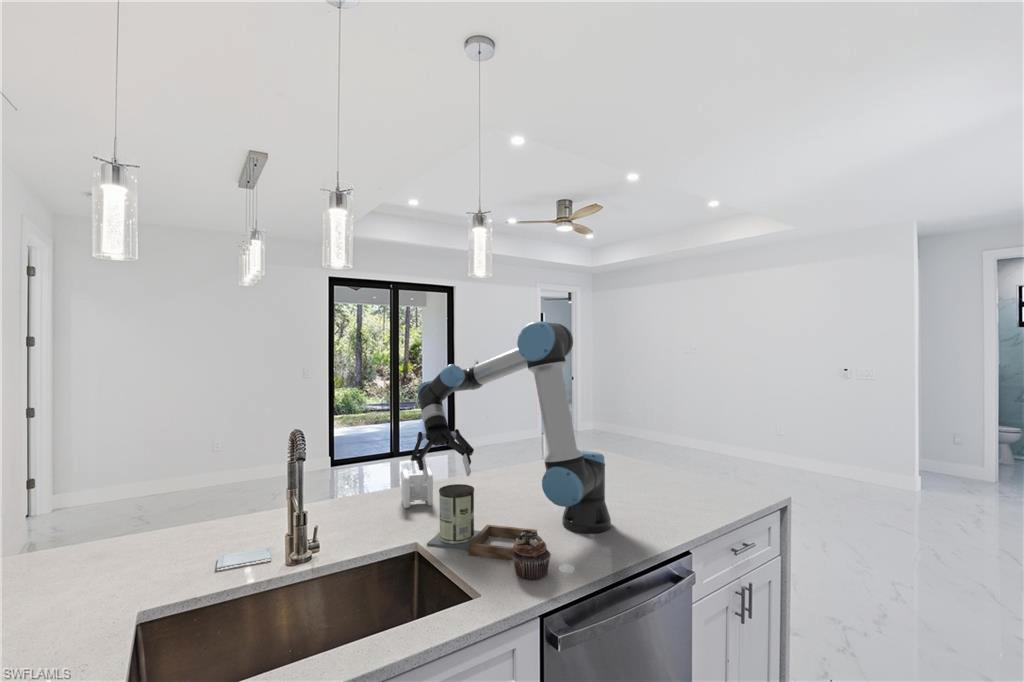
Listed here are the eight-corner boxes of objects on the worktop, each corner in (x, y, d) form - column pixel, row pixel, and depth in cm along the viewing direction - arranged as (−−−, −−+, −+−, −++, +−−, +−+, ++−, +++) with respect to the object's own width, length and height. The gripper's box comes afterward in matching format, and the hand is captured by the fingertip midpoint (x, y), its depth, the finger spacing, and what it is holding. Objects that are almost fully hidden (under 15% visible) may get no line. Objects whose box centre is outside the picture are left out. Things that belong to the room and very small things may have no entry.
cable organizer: (433, 508, 169) (433, 475, 169) (402, 511, 166) (402, 477, 167) (428, 496, 184) (428, 465, 184) (400, 498, 181) (400, 467, 181)
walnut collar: (536, 540, 141) (536, 529, 141) (523, 562, 126) (523, 550, 126) (487, 534, 145) (486, 524, 145) (468, 555, 130) (468, 544, 130)
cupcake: (548, 583, 114) (548, 541, 115) (508, 580, 116) (508, 538, 116) (552, 566, 124) (552, 526, 124) (515, 563, 126) (515, 524, 126)
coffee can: (454, 528, 149) (454, 482, 149) (481, 535, 143) (481, 487, 143) (431, 539, 140) (431, 490, 140) (459, 546, 134) (459, 496, 135)
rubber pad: (485, 533, 146) (485, 531, 146) (469, 550, 134) (469, 548, 134) (445, 529, 150) (445, 527, 150) (427, 545, 137) (427, 543, 137)
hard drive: (270, 546, 134) (218, 554, 128) (271, 557, 127) (216, 567, 121) (270, 552, 134) (218, 561, 128) (271, 563, 127) (216, 573, 121)
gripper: (467, 425, 171) (482, 478, 157) (396, 430, 160) (405, 487, 146) (472, 411, 166) (488, 465, 152) (399, 416, 156) (409, 473, 142)
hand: (448, 476), depth 149 cm, fingers open, 13 cm apart
